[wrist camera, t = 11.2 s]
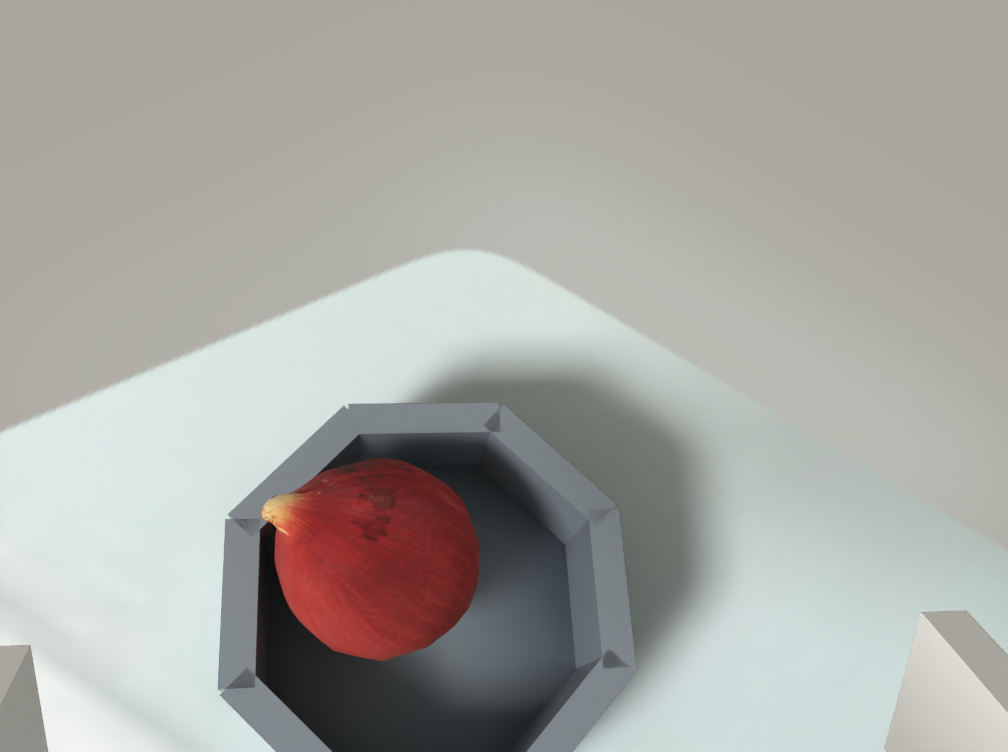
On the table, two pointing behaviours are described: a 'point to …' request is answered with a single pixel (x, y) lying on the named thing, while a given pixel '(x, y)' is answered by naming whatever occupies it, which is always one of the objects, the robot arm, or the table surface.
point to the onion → (375, 557)
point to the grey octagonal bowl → (482, 629)
